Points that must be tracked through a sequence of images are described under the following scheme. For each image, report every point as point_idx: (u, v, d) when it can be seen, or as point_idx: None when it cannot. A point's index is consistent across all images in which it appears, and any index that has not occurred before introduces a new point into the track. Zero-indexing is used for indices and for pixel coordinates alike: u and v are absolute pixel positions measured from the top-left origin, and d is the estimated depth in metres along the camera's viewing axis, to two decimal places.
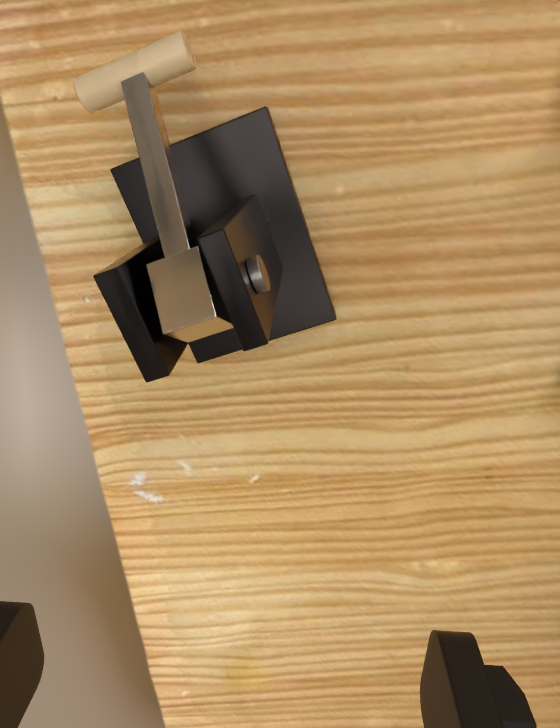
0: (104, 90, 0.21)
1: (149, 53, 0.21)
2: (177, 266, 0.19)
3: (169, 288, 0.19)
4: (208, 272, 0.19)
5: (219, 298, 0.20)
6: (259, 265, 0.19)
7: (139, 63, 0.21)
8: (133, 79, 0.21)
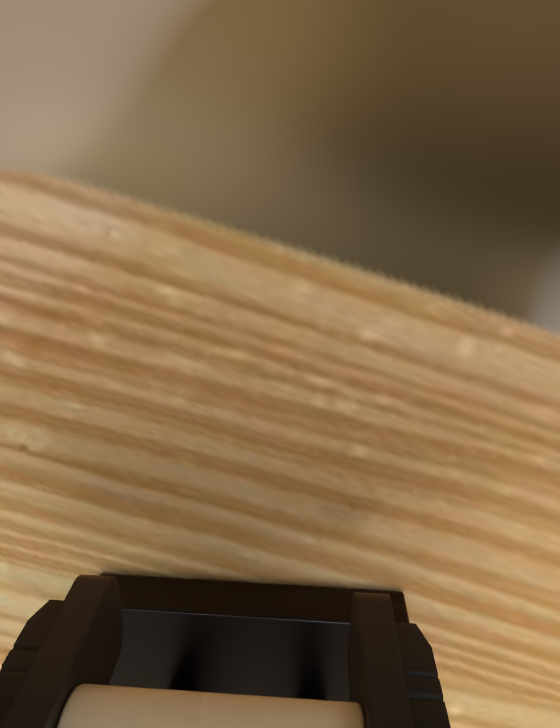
0: None
1: None
2: None
3: None
4: None
5: None
6: None
7: None
8: None
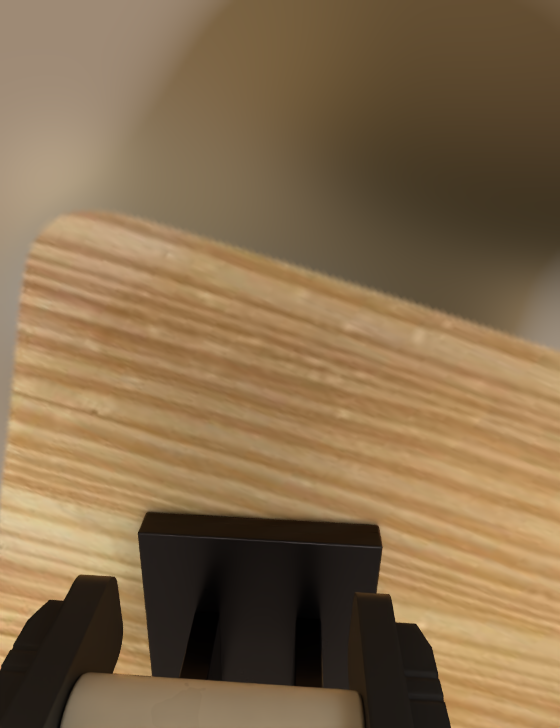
0: None
1: None
2: None
3: None
4: None
5: None
6: None
7: None
8: None
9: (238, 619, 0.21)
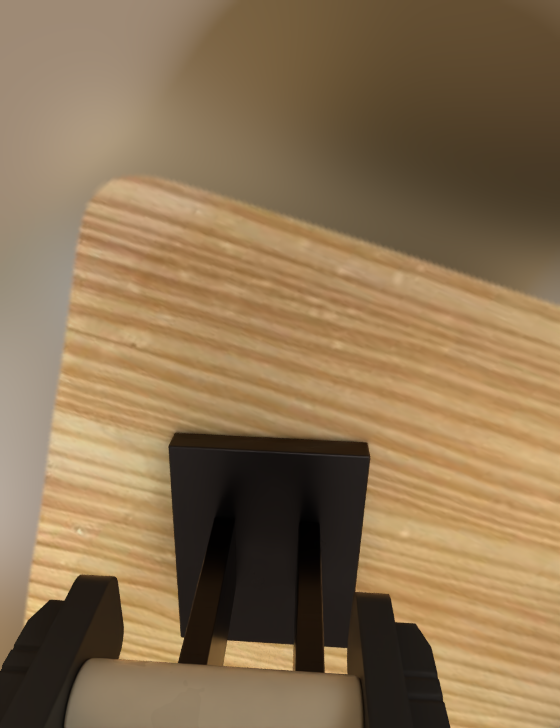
0: None
1: None
2: None
3: None
4: None
5: None
6: None
7: None
8: None
9: (250, 523, 0.25)
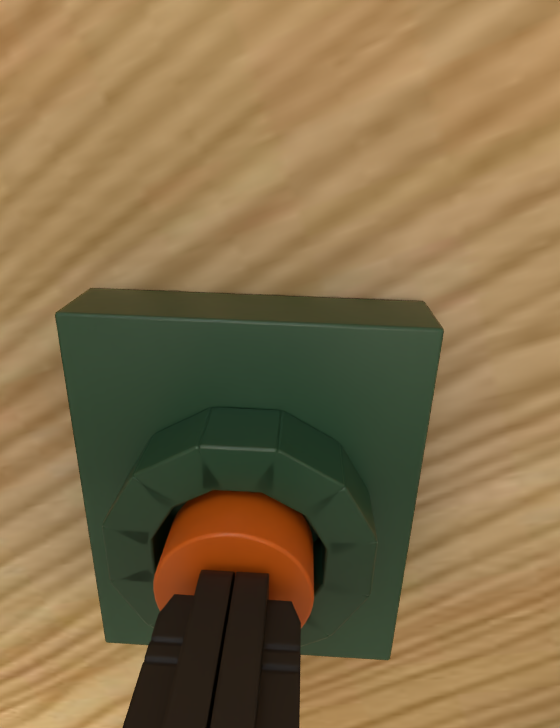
0: None
1: None
2: None
3: None
4: None
5: None
6: None
7: None
8: None
9: None
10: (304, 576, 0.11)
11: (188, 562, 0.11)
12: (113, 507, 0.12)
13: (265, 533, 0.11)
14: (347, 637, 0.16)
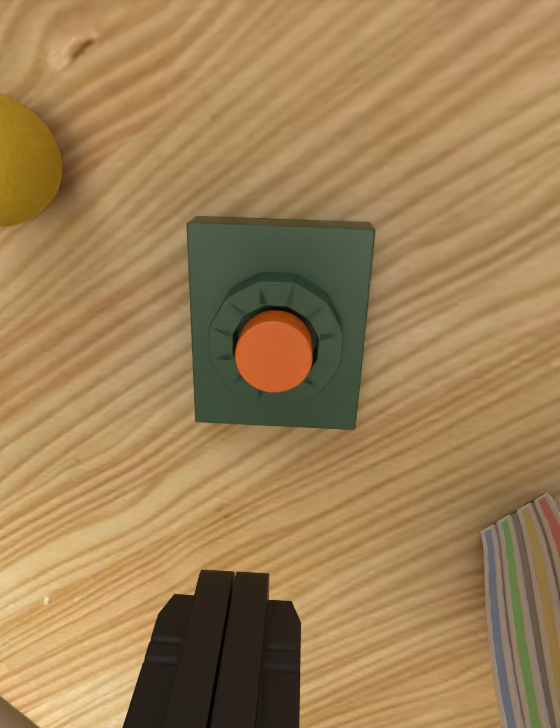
0: None
1: None
2: None
3: None
4: None
5: None
6: None
7: None
8: None
9: None
10: (308, 345, 0.24)
11: (253, 337, 0.24)
12: (215, 316, 0.25)
13: (289, 323, 0.23)
14: (331, 414, 0.29)
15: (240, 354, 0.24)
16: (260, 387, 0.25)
